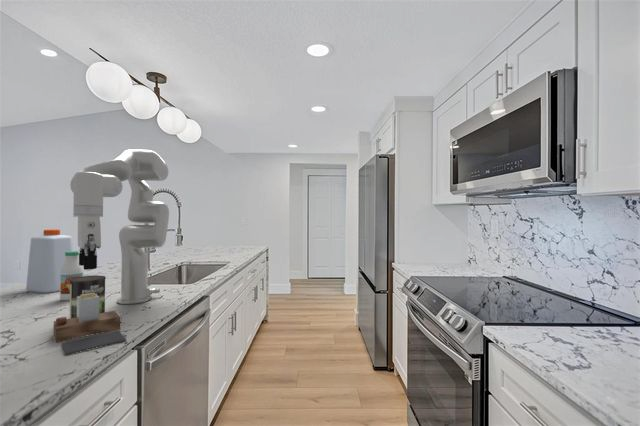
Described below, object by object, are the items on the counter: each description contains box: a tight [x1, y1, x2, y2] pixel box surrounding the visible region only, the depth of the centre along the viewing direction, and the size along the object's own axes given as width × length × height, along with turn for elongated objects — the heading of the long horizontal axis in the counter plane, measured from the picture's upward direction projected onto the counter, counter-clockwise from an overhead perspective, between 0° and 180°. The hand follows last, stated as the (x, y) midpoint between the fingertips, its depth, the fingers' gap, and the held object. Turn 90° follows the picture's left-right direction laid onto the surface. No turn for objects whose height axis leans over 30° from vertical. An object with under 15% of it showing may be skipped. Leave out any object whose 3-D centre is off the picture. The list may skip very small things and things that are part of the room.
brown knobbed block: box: [53, 310, 121, 343], centre depth 101 cm, size 16×8×6 cm, turn 133°
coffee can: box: [69, 275, 106, 319], centre depth 113 cm, size 10×10×14 cm
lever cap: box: [77, 293, 99, 323], centre depth 101 cm, size 5×5×8 cm
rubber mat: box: [61, 330, 127, 357], centre depth 93 cm, size 14×9×1 cm, turn 133°
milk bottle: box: [59, 250, 84, 301], centre depth 137 cm, size 8×8×20 cm
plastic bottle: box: [25, 228, 74, 294], centre depth 152 cm, size 15×15×28 cm
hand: (87, 267), depth 101 cm, fingers open, 9 cm apart
